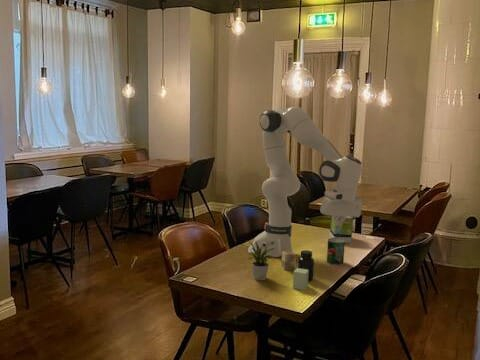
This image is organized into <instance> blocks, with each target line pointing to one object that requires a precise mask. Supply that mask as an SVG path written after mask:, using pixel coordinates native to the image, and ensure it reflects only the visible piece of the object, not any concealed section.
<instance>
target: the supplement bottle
mask: <svg viewBox="0 0 480 360" xmlns="http://www.w3.org/2000/svg"><path fill="white" fill-rule="evenodd" d="M297 268H300V269H307V270H309V273H308V282H311V281H313V280H314V278H315V277H314V275H315V259H314V258H313V251H311V250H309V249H308V250H305V249H304V250H300V256H299V258H298V259H297Z"/></svg>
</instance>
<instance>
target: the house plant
mask: <svg viewBox="0 0 480 360" xmlns="http://www.w3.org/2000/svg"><path fill="white" fill-rule="evenodd" d="M263 242H264V241H263ZM248 243H249V245H248V248H249V247H250V246H251V245H252V247H253V248H252V249H253V251H254V252H255V254H254V253H253V252H252V253H249V255H250V256H249V257H248V260H247V261H250V260H253V259H254V261H253V262H252V263H251V266H252V276H253V279H254V280H258V281H264V280H266V278H267V274H268V269H269V263H268V260H270V259H272V258H273V259H274V258H275V257H272V255H267V256H266V254H267V253H268V252H269V251H270V250H271V249H272V248H273V247H275V246H273V247H272V248H270V249H268V250H266V249H267V246H268V244H267V246H266V248H265V250H264V252H262V255H261V250H262V247H261V248H259V246H258V244H257V242H255V243H256V246H257V250H256V251H255V248H254V246H253V242H252V243H251V242H250V241H248ZM264 245H265V244H264ZM250 250H251V249H250ZM251 251H252V250H251ZM256 252H257V253H256ZM266 252H267V253H266Z"/></svg>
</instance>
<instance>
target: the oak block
mask: <svg viewBox="0 0 480 360" xmlns="http://www.w3.org/2000/svg"><path fill="white" fill-rule="evenodd" d="M296 258H297V254H296V253H295V252H294V251H293V250H292V251H282V256H281V267H282V269H283V270H284V271H286V270H294V271H295V269H296V261H297V260H296Z"/></svg>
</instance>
